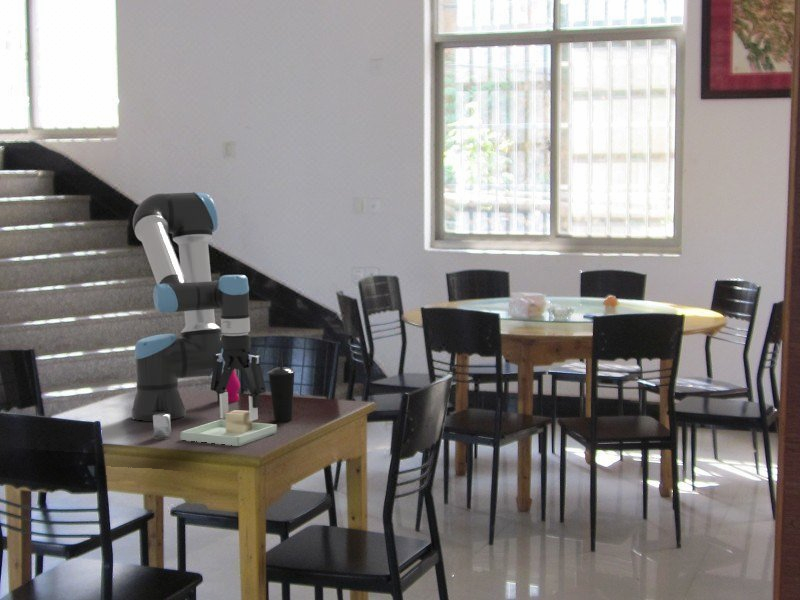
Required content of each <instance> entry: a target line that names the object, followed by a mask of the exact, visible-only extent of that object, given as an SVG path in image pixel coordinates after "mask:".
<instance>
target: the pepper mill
mask: <svg viewBox="0 0 800 600" xmlns="http://www.w3.org/2000/svg"><path fill="white" fill-rule="evenodd" d="M221 376H222V375H221ZM240 389H241V382H240V379H239V378H238V376H237V373H236V369H234V370H233V371H232V374H231V376H230V379H229V382H228V385H227V387H226V390H227V391H226V392H228V403H236V402H238V401H240V394H239V393H238V392H239V391H240ZM224 393H225V392H224Z"/></svg>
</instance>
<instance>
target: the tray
mask: <svg viewBox="0 0 800 600" xmlns="http://www.w3.org/2000/svg"><path fill="white" fill-rule="evenodd" d="M275 434H278V424H275V423H274V424H273V423H261V422H253V421H252V430H250V431H247V432H245V433H226V419H218V420H215V421H211V422H208V423H205V424H201V425H199V426H195V427H192V428H188V429H185V430H182V431H180V432H179V438H180V439H179V441H182V440H186V441H185V442H191V441H195V442H194V443H201V442H207V443H206V444H211V443H215V444H214V445H221V444H225V445H224V446H231V445H232V446H231V447H241V446H245V445H246V444H249V443H252V442H255V441H259V440H260V439H264V438H266V437H269V436H272V435H275ZM196 441H197V442H196Z"/></svg>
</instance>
